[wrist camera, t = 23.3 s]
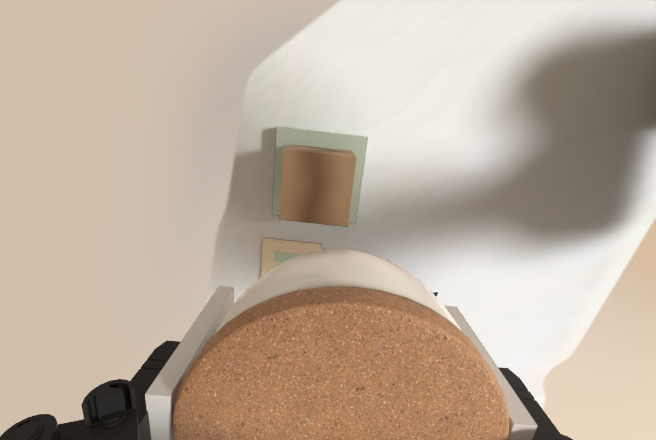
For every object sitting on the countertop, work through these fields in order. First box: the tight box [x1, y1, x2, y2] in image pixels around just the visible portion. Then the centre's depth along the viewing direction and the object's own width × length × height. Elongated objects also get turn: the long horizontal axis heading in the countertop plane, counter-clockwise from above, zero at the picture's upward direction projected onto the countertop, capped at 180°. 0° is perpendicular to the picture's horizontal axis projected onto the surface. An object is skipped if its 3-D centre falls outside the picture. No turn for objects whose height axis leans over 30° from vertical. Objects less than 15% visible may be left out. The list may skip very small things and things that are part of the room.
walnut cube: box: [279, 145, 357, 227], centre depth 38 cm, size 8×8×8 cm
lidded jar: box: [172, 249, 509, 440], centre depth 13 cm, size 11×11×9 cm
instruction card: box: [261, 238, 322, 276], centre depth 49 cm, size 9×13×1 cm
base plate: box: [272, 127, 368, 224], centre depth 43 cm, size 12×12×2 cm
